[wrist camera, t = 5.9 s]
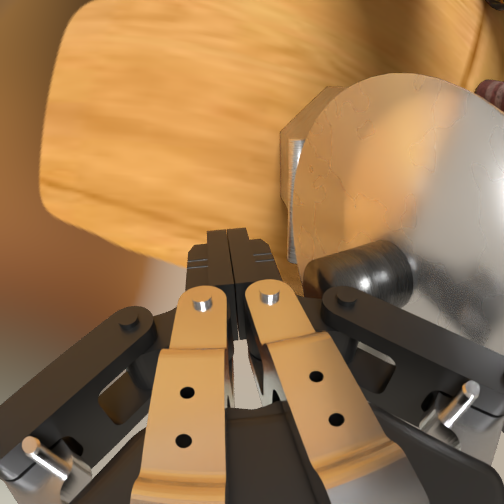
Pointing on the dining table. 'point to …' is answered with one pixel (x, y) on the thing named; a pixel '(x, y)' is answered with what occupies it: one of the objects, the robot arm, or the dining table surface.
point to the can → (492, 92)
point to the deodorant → (496, 4)
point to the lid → (405, 203)
